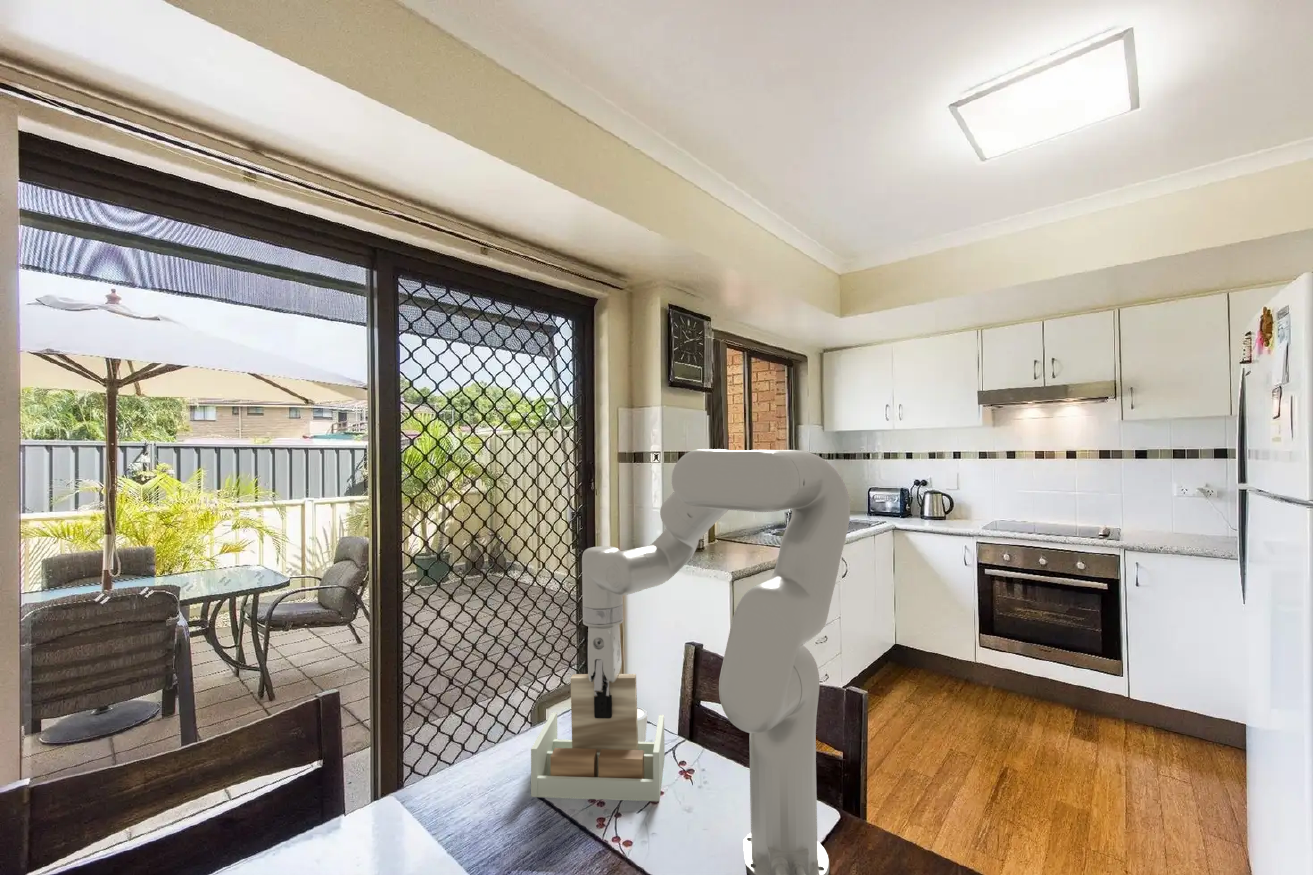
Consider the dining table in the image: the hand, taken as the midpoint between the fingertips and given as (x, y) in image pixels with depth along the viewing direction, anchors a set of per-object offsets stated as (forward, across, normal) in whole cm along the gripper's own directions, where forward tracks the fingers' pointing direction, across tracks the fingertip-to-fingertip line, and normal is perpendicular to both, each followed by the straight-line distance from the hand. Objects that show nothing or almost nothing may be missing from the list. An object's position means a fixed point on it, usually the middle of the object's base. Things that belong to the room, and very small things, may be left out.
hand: (604, 713), depth 105 cm
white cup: (+12, +11, -3) cm, 17 cm away
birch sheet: (+9, 0, 0) cm, 9 cm away
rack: (+12, -2, 0) cm, 12 cm away
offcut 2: (+10, -6, -4) cm, 12 cm away
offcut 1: (+10, -6, +4) cm, 13 cm away
